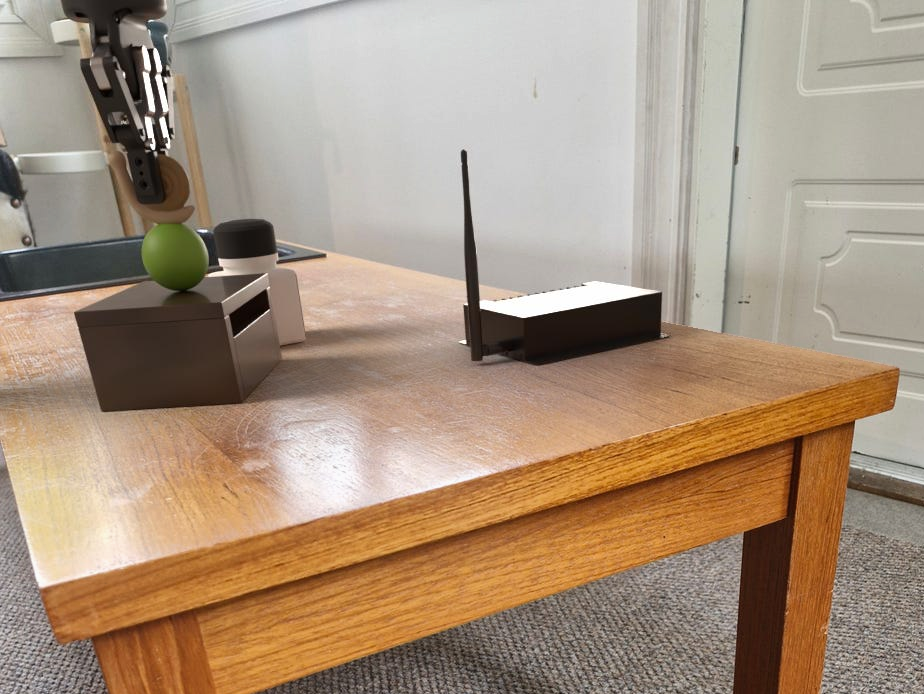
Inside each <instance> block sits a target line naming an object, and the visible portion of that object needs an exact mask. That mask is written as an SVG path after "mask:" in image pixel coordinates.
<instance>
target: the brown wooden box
mask: <svg viewBox="0 0 924 694" xmlns="http://www.w3.org/2000/svg"><path fill="white" fill-rule="evenodd" d="M269 286H270V285H269V279H268V274H267V273H260V274H245V275H230V276H215V277H208V276H205V277H204V279H203V280H202V281H201V282H200V283H199V284H198V285H197V286H195V287H194V288H192V289H189V290H185V291H174V290H170V289H167V288H164V287H162V286H161V285H159V284H158V283H157V282H155V281H154V280H143V281H141V282H139V283H137V284H134V285H132V286H130V287H127V288H125V289H123V290H121V291H118V292H116V293H114V294H112V295H110V296H106V297H105V298H103V299H100V300H98V301H96V302H94V303H91V304H89V305H86V306H85V307H82V308H80V309H77V310H75V311H74V312H73V315H74V318H75V322H76V326H77V328H78V333H79V336H80V340H81V343H82V348H83V350H84V354H85V358H86V361H87V365H88V369H89V373H90V376H91V379H92V384H93V387H94V391H95V395H96V397H97V401H98V404H99V409H100V412H115V411H129V410H130V411H131V410H132V411H133V410H147V409H150V410H151V409H163V408H164V409H165V408H167V409H168V408H182V407H199V406H215V405H232V404H242V403H243V402H244V401H245V400H246V398H247V397H249V395H251V393H253V391H254V390H255V389H256V388H257V387H258V386H259V385H260V384H261V382H263V381H264V379H265V378H266V377H267V376H268V375H269V374H270V373H271V372H272V371H273V370H274V369H275V368H276V366H278V364H279V363H280V362H282V360H283V355H282V350H281V346H280V343H279V338H278V332H277V326H276V320H275V314H274V308H273V303H272V297H271V291H270V287H269Z"/></svg>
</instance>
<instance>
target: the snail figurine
mask: <svg viewBox="0 0 924 694" xmlns="http://www.w3.org/2000/svg"><path fill="white" fill-rule="evenodd" d="M102 141H103V143H105V145H106V149H107V152H108V156H107V157H108V158H107V159H108V161H109V166H110V167H111V168H112V170H113V171H114V174H115V177H116V180H117V182H118V185H119V186H120V189H121V191H122V193H123V195H124V197H125V199H126V200H127V202H128V204H129V205H130V207H131V208H132V209H133V211H134V212H135V213H136V214H137V215H138V216H140V217H141V218H143V219H144V220H146V221H149V222H151V223H154V224H156V225H154V226H153V227H152V228H151V229H150V230H149V231H148V232H147V233H146V235H145V236H144V238H143V241H142V245H141V259H142V264H143V266H144V268H145V271H146V272H147V274H148V275H149V277H150V278H151V279H152V281H155V282H157V283H158V284H159V285H161V286H162V287H164V288H167V289H170V290H174V291H185V290H189V289H192V288H194V287H195V286H197V285H198V284H199V283H200V282H201V281H202V280H203V279H204V277H206V275H207V273H208V270H209V263H210V258H209V251H208V248H207V246H206V243H205V241H204V240H203V238H202V237H201V236H200V234H198V233H197V232H196V231H195V230H194V229H193V228H191V227H190V226H189V225H186V224H185V222H188V220H190V218H191V217H192V216H193V214H194V212H195V211H196V206H195V205H193V204H190V205H186V203H187V202H188V200H189V198H190V196H191V182H190V177H189V176H188V173H187V171H186V170H185V168H184V166H183V165H181V163H180V162H179V161H178V160H176V159H175V158H173V157H171V156H170V155H169V156H166V155H162V154H157V156H158V161H159V166H160V170H161V175H162V180H163V184H164V189H165V194H166V200H165V201H164V202H163V203H159V204H145V205H143V204H140V203H139V202H138V200H137V197H136V193H135V189H134V184H133V180H132V176H131V172H130V170H129V168H128V158H127V156H126V155H125V154H124V152H123V151H120V150H112V146H111V143H112V142H111V140H110V138H109V136H108V134H107V135H106V134H104V135H103V136H102ZM108 145H109V147H108ZM109 148H110V149H109ZM185 205H186V206H185Z"/></svg>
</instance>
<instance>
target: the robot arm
mask: <svg viewBox="0 0 924 694" xmlns="http://www.w3.org/2000/svg"><path fill="white" fill-rule="evenodd" d="M60 3H61V7H62V11H63V14H64V15H65V16H66V18H67V19H68V20H70V21H72V22H75V23H80V24H88V28H89V37H90V38H89V40H90V47H91V57H84V58H80V60H79V66H80V70H81V73H82V76H83V78H84V80H85V83H86V85H87V88H88V90H89V93H90V95H91V97H92V100H93V103H94V105H95V107H96V109H97V112H98V115H99V117H100V119H101V121H102V124H103V126H104V129H105V131H106V133H107V135H108V136H109V138H110V140H111V143H112V144H118V145H119V147H120V150H121V152H122V153H126V159H127V163H128V166H129V172H130V175H131V178H132V180H133V184H134V189H135V193H136V197H137V200H138V202H139V203H140V204H143V205H145V204H159V203H163V202H164V201H165V200H166V194H165V189H164V184H163V180H162V175H161V170H160V166H159V161H158V156H157V154H162V155H166V156H169V157H170V155H169V149H170V148H171V141H173V140H175V139H176V129H175V128H176V127H175V110H174V92H173V74H172V73H173V72H172V70H171V68H170V66H169V65H168V64H162V63H161V60H160V59H161V58H160V55H159V52H158V50H157V48H156V47H155V46H154V43H153V40H152V37H151V34H150V30H149V28H148V23H149V22H150V21H156V20H160V19H163V18H164V17H165V16H166V14H167V12H168V5H167V0H60ZM152 119H153V121H154V123H153V122H152ZM127 122H128V123H127ZM152 123H153V124H152Z"/></svg>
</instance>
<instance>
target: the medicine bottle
mask: <svg viewBox="0 0 924 694" xmlns="http://www.w3.org/2000/svg"><path fill="white" fill-rule="evenodd" d="M212 233H213V234H212V235H213V238H214V244H215V249H216V254H217V260H218V264H219V267H221V268H222V269H223V270H219V271H215V272H211V273H208V275H207V277H215V276H230V275H245V274H260V273H267V274H268V279H269V285H270V286H269V287H270V291H271V297H272V303H273V308H274V314H275V320H276V326H277V332H278V338H279V343H280V347H282V346H286V345H292V344H298V343H302V342H303V343H304V342H305V341H306V340H307V334H306V327H305V321H304V314H303V309H302V302H301V296H300V289H299V283H298V282H299V281H298V275H297V272H296V270H295V269H291V268H286V267H280V266H278V264H277V262H279V260H280V258H279V252H278V246H277V239H276V233H275V229H274V225H273V224H272V223H271V222H270V221H268V220H266V219H264V218H242V219H241V218H240V219H233V220H228V221H223V222H220V223H219V224H217V225H216V226H215V227H214V228H213V229H212Z"/></svg>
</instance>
